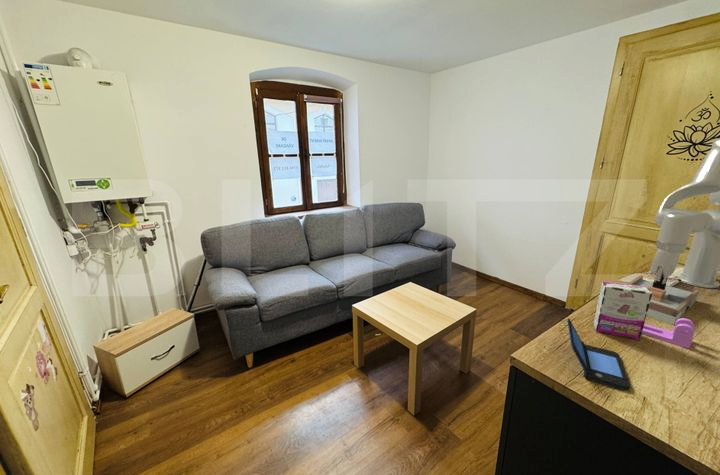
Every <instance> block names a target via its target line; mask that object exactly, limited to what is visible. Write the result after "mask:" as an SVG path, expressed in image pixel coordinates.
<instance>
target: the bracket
mask: <svg viewBox="0 0 720 475" xmlns="http://www.w3.org/2000/svg"><path fill="white" fill-rule="evenodd" d="M642 335H643V336H647V337H650V338H654V339H657V340H660V341H663V342H666V343H670V344H672V345H676V346H679V347H683V348H686V349H690V347H691V345H692V341H693V338H694V336H695V322H693V320H691V319H689V318H685V317H682V318H681V317H680V318H679V319H678V320H677V321H676V322H675V323H674V327H673V330H669V329H664V328H661V327H658V326H654V325H651V324H647V323H646V322H645V323H644V327H643V331H642Z"/></svg>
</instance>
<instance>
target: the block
mask: <svg viewBox="0 0 720 475" xmlns="http://www.w3.org/2000/svg"><path fill="white" fill-rule="evenodd" d="M647 288H648V289H649V290H650V291H651V292H652V297H651V299H652V300H655V301H658V302H660V301H661V300H662V299H664V297H665V294H666V291H665V290H662V289H658V288H654V287H651V286H647Z"/></svg>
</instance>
